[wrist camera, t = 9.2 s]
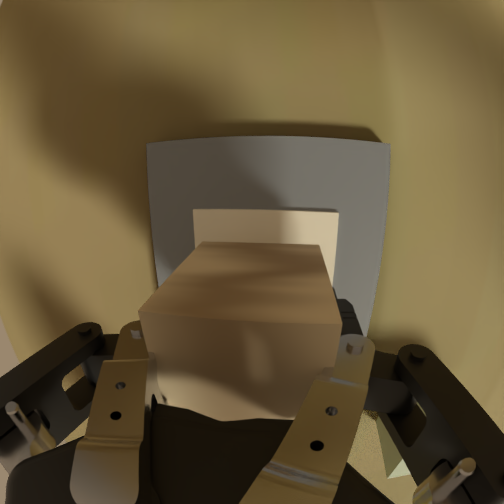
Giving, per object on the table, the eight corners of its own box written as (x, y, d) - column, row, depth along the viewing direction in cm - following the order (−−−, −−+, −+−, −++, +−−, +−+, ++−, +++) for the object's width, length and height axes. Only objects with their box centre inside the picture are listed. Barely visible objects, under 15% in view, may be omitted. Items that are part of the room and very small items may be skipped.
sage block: (447, 373, 17) (474, 428, 11) (425, 414, 18) (443, 465, 13) (393, 380, 17) (413, 443, 12) (375, 421, 19) (386, 478, 13)
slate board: (384, 144, 13) (391, 143, 11) (352, 368, 17) (355, 380, 16) (154, 143, 14) (144, 143, 13) (178, 357, 19) (172, 368, 18)
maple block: (319, 244, 12) (342, 324, 6) (310, 342, 13) (315, 442, 8) (202, 241, 12) (138, 310, 7) (210, 336, 14) (171, 427, 8)
